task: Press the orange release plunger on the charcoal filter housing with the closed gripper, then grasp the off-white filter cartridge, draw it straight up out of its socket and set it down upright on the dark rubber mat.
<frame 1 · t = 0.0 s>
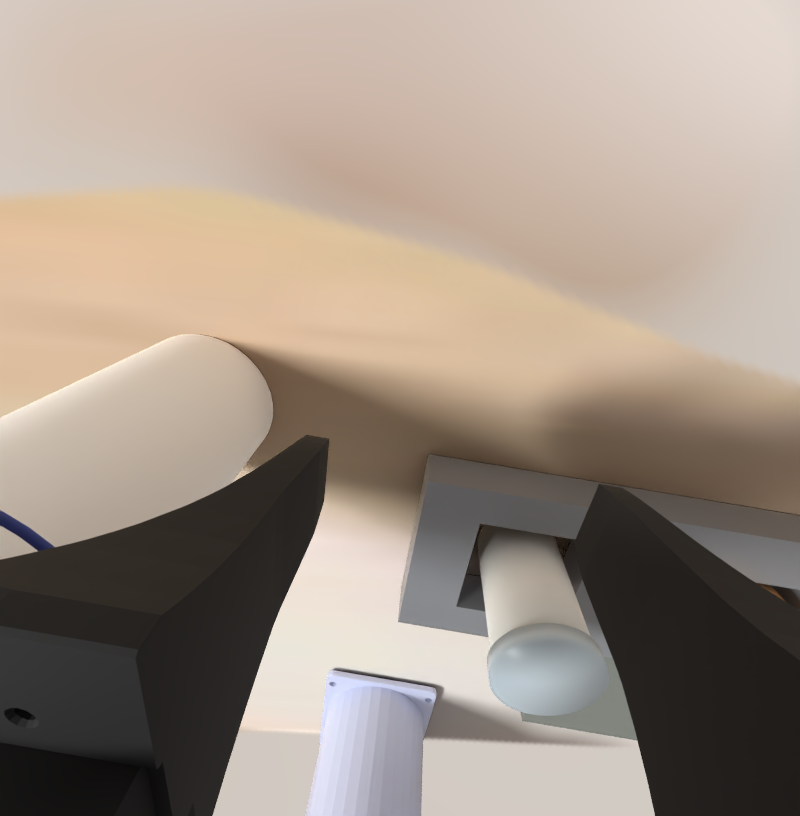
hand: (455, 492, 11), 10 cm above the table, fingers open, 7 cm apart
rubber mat: (602, 684, 29), on the table
cylindrical container: (208, 398, 22), on the table
release plunger: (754, 623, 22), point 3 cm above the table, slide at 0.0 cm
filter cartridge: (515, 543, 25), resting in filter housing
filter housing: (600, 557, 25), on the table
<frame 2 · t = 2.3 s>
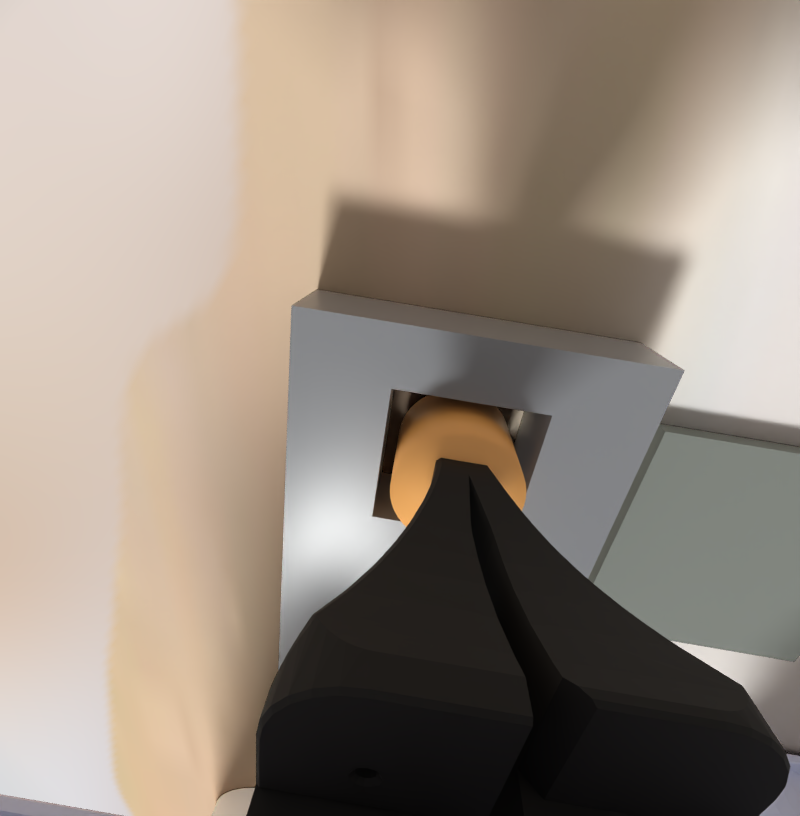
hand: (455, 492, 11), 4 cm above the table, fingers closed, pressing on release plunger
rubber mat: (727, 548, 16), on the table
cylindrical container: (270, 813, 28), on the table
release plunger: (454, 464, 13), point 2 cm above the table, slide at 0.8 cm, touching gripper
filter housing: (419, 576, 18), on the table
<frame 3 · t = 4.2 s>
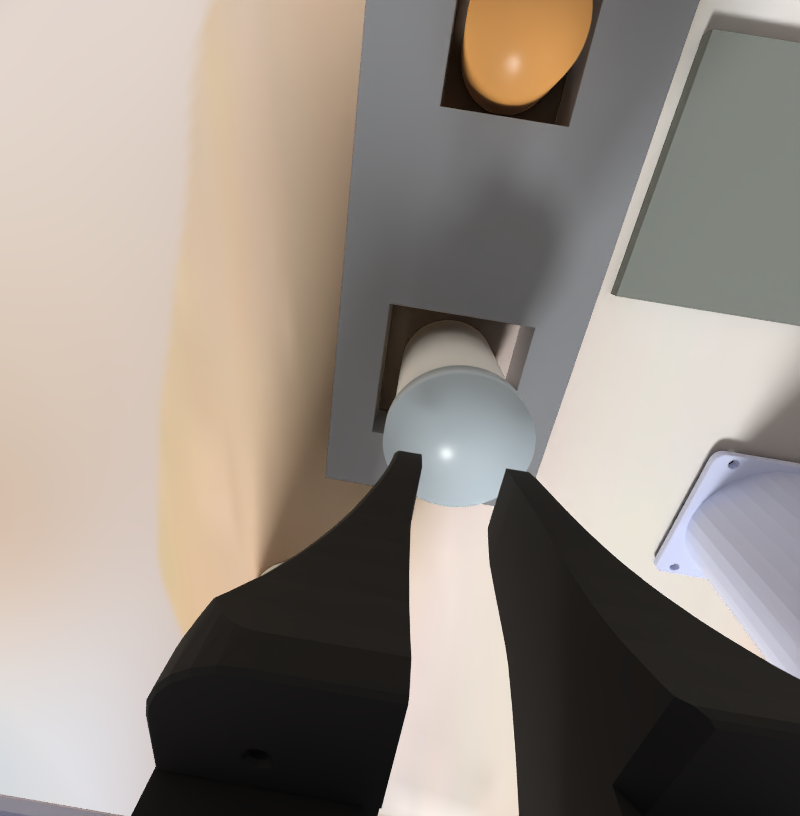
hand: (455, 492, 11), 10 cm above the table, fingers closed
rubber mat: (764, 197, 17), on the table
release plunger: (519, 39, 14), point 2 cm above the table, slide at 1.0 cm
filter cartridge: (446, 364, 21), resting in filter housing
filter housing: (468, 258, 19), on the table
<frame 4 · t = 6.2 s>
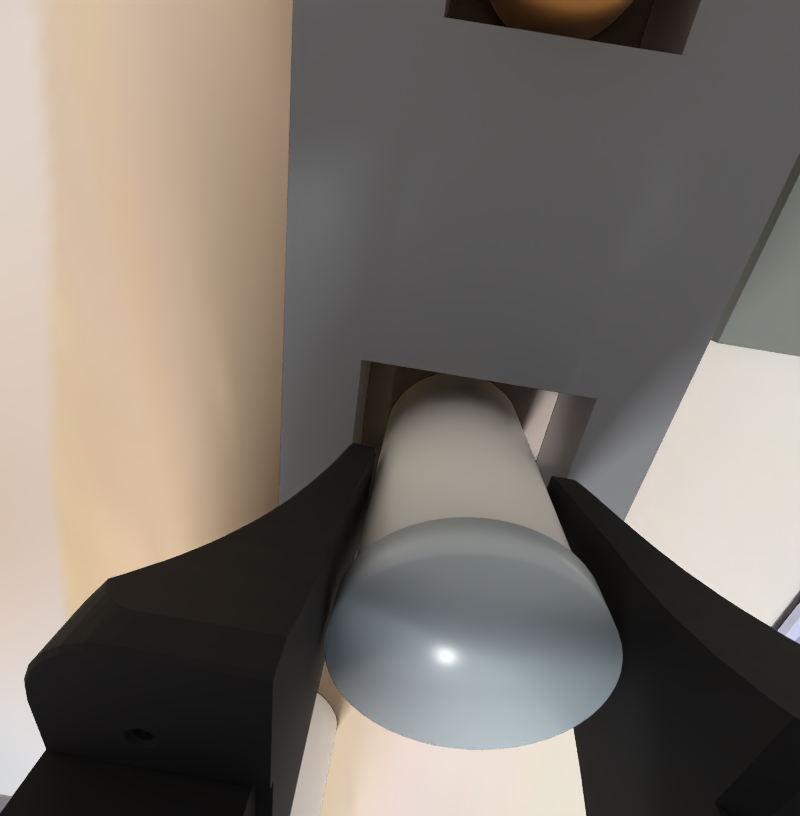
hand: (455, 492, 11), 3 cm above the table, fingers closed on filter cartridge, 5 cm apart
cylindrical container: (270, 711, 22), on the table
filter cartridge: (452, 434, 14), resting in filter housing, touching gripper
filter housing: (486, 282, 12), on the table
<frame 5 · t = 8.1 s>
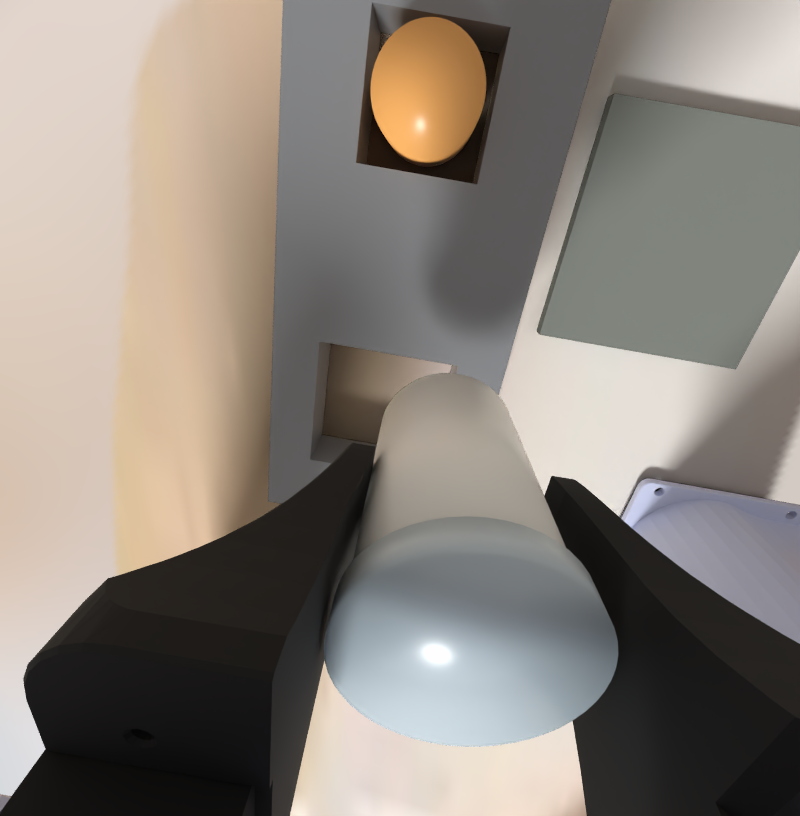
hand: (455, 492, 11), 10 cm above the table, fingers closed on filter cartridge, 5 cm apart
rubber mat: (674, 245, 18), on the table
release plunger: (428, 102, 15), point 2 cm above the table, slide at 1.0 cm
filter cartridge: (445, 434, 14), point 7 cm above the table, touching gripper
filter housing: (400, 295, 19), on the table
when the fingers open (6 cm above the table, at t = 10.1 s): filter cartridge drops 2 cm, resting on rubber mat.
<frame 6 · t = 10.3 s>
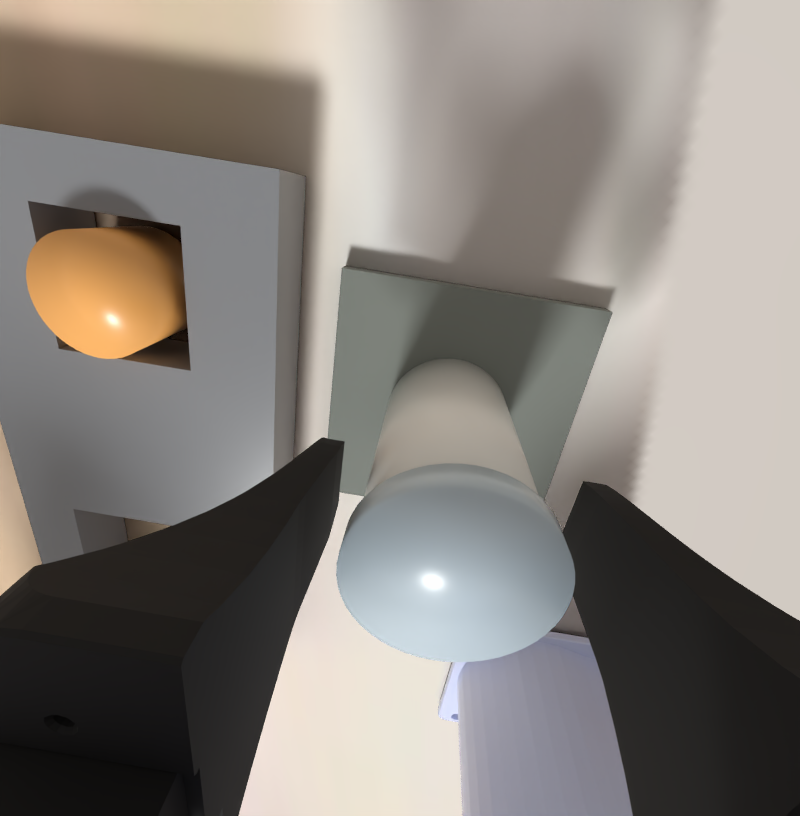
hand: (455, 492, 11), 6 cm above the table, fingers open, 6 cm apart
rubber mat: (449, 405, 16), on the table
release plunger: (125, 289, 13), point 2 cm above the table, slide at 1.0 cm
filter cartridge: (446, 414, 16), point 1 cm above the table, touching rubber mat
filter housing: (178, 446, 18), on the table
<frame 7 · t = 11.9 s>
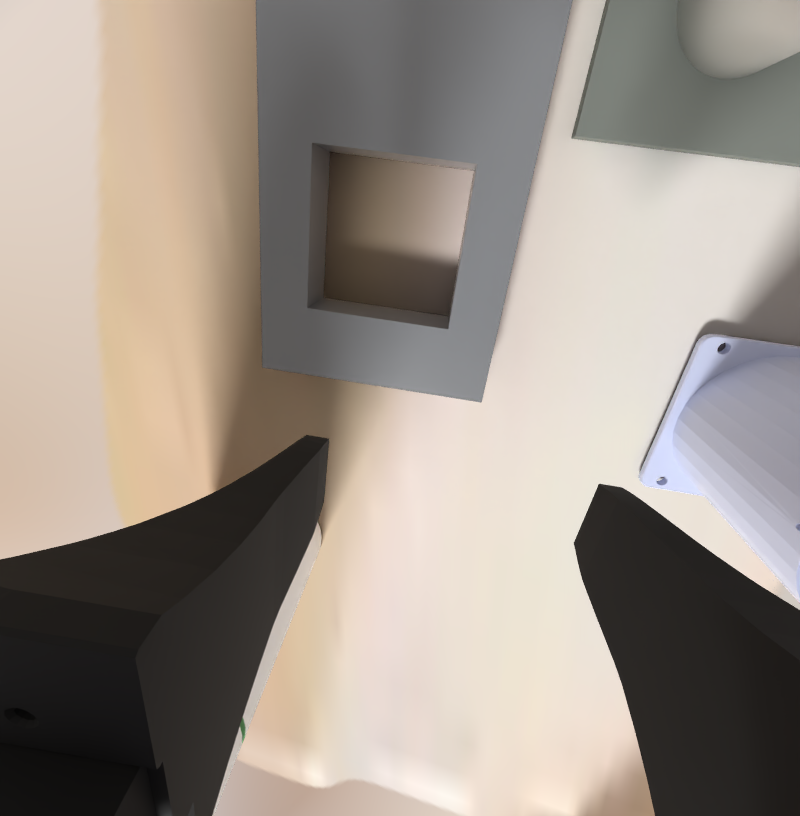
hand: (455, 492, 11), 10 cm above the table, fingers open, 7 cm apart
cylindrical container: (267, 528, 27), on the table
filter housing: (407, 102, 17), on the table
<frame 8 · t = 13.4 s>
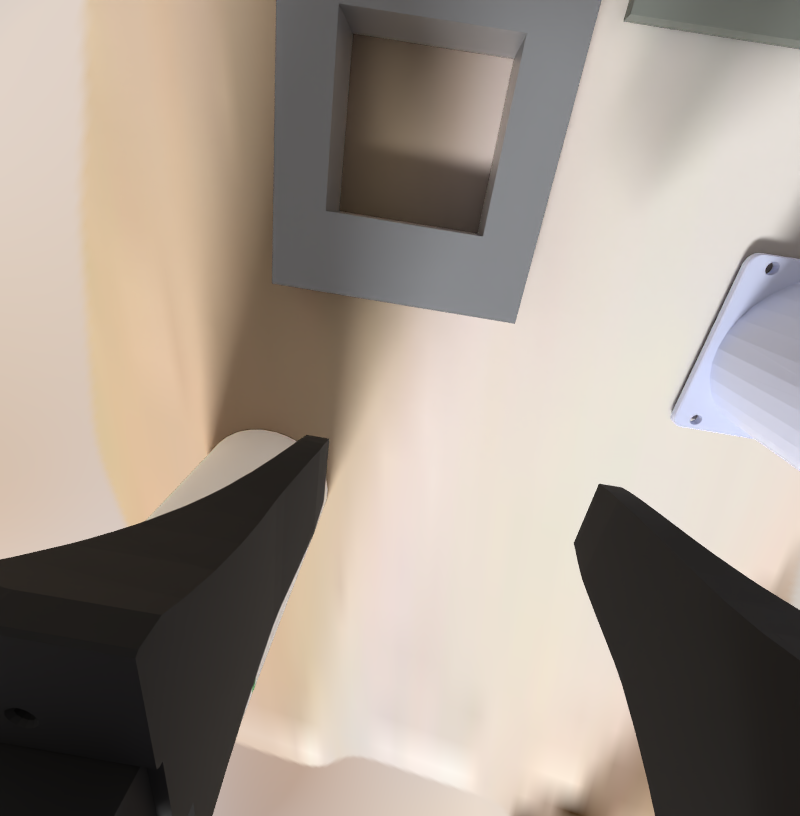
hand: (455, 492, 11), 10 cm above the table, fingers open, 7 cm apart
cylindrical container: (268, 481, 25), on the table
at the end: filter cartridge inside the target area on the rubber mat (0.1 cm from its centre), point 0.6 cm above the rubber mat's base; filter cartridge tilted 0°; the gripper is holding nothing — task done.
